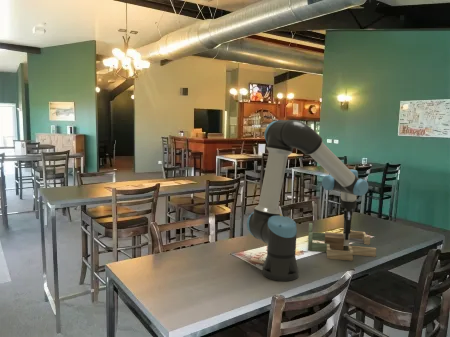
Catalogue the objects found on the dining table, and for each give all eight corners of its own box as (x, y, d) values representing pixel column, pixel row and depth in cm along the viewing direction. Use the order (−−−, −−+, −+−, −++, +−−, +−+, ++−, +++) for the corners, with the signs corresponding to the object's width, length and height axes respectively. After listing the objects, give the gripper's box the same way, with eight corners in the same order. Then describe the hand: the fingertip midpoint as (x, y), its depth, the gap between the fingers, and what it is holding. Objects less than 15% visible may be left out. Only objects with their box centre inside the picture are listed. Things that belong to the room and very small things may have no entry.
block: (343, 250, 180) (344, 238, 179) (324, 248, 182) (325, 236, 181) (342, 244, 188) (342, 233, 188) (324, 242, 191) (325, 231, 190)
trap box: (378, 263, 163) (380, 244, 162) (307, 256, 170) (308, 238, 169) (366, 239, 198) (367, 223, 197) (308, 234, 205) (309, 218, 204)
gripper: (358, 203, 173) (355, 250, 176) (355, 198, 186) (352, 242, 188) (341, 202, 175) (339, 248, 178) (339, 197, 187) (337, 240, 190)
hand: (346, 245), depth 183 cm, fingers closed
